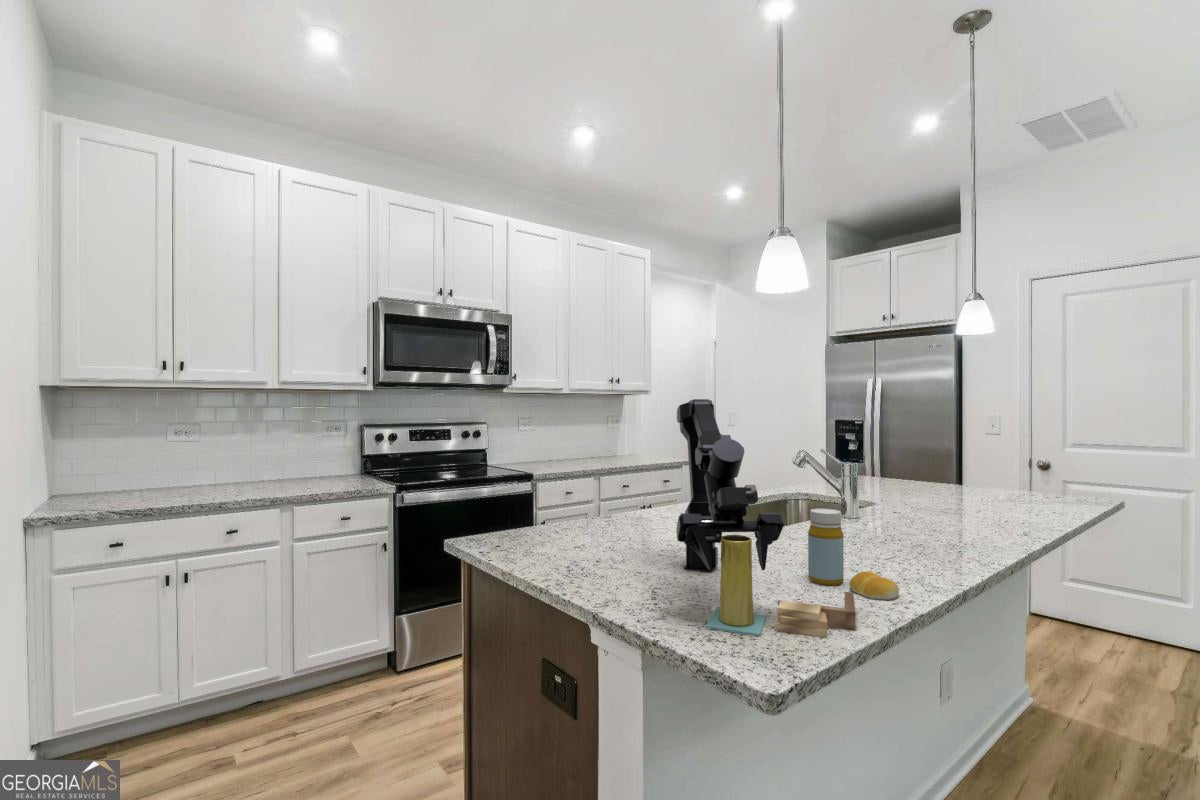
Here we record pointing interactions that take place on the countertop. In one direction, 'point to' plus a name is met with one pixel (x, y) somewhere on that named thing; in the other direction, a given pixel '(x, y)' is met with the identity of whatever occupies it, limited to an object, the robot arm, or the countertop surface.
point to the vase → (736, 581)
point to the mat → (751, 629)
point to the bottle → (825, 547)
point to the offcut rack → (814, 617)
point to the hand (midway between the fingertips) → (737, 569)
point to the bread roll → (874, 586)
